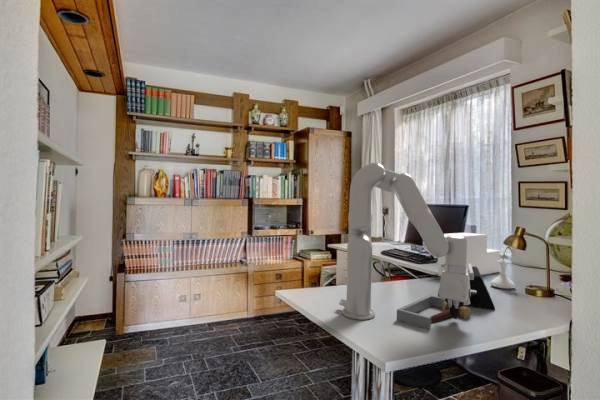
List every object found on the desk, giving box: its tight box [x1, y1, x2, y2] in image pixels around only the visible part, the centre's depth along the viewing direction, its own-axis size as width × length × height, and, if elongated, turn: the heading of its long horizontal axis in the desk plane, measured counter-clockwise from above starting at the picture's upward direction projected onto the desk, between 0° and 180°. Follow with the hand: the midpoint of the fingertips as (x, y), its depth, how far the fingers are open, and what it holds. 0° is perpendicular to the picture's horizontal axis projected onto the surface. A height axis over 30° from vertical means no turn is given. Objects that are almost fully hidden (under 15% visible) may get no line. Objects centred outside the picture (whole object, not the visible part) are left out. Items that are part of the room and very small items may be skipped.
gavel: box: [430, 301, 472, 324], centre depth 134 cm, size 21×5×10 cm
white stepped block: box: [433, 232, 501, 277], centre depth 216 cm, size 45×18×25 cm, turn 122°
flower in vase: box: [490, 245, 516, 289], centre depth 182 cm, size 13×11×25 cm
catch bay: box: [396, 294, 456, 330], centre depth 137 cm, size 12×29×4 cm, turn 136°
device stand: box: [437, 264, 496, 311], centre depth 159 cm, size 22×22×15 cm
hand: (454, 317), depth 130 cm, fingers closed
